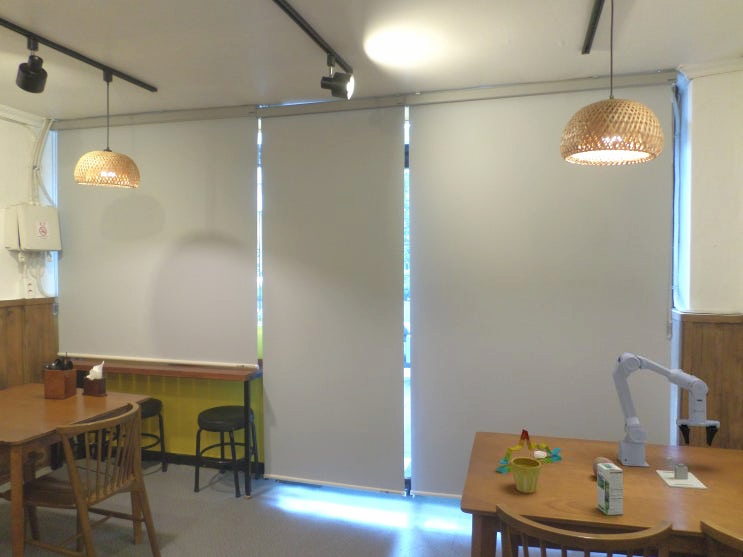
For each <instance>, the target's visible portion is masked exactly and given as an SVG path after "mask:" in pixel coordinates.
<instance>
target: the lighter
mask: <svg viewBox="0 0 743 557" xmlns="http://www.w3.org/2000/svg"><path fill="white" fill-rule="evenodd" d="M665 459H666V461H667V464H668V465H669V467H670V468H671V469H672V470H673V471H674V478H676V479H688V472H689V470H688V469H689V468H688V466H686V465H685V464H684V463H677V465H676V463H675V462H674V460H673V458H672V457H671V456H670V455H668V456H666V457H665Z"/></svg>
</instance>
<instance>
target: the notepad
mask: <svg viewBox="0 0 743 557" xmlns="http://www.w3.org/2000/svg"><path fill="white" fill-rule="evenodd" d="M655 473H657V475H658V476H659V477H660V478H661V479H662V481H663V482H664V483H665V484H666V485H667V486H668V487H669V488H681V489H683V488H684V489H685V488H686V489H695V490H697V489H698V490H708V487H707V486H705V484H703V483H702V482H701V481H700V480H699V479H698V478H697V477H696V475H695V474H693V472H690V471H688V479H676V478H674V470H660V469H659V470H658V469H657V470H655Z"/></svg>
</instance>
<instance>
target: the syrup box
mask: <svg viewBox="0 0 743 557" xmlns="http://www.w3.org/2000/svg"><path fill="white" fill-rule="evenodd" d="M596 477H597V480H596V482H597V484H596V486H597V489H596V490H597V491H596V492H597V508H598V509H599V510H600V511H602V513H604V514H605V515H606V516H617V515H624V498H623V497H624V488H623V487H624V481H623V480H624V475H623V469H622V468H620V467H619V466H617V465H616V464H615V463H614V464H612V463H601V464H597V476H596Z"/></svg>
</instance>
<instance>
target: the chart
mask: <svg viewBox="0 0 743 557" xmlns="http://www.w3.org/2000/svg"><path fill="white" fill-rule="evenodd" d="M525 442H526V446H527V450H530V451H531V452H533V451H534V450H535V449H536V448H537V449H538V450H540V451H542V452H543V451H544V449H545V450H546V452H547V453H548V454H550V455H547V456H546V457H545V456H544V457H545V458H540V457H537V458H534V459H535V460H537V461H539V462H540V463H541V466H543V465H546V464H547V465H548V464H550V463H556V462H559V461H562V459H563V458H562V455H559V453H560V452H561V451H562V449H561V448H559V447H555V449H553V450H552V451H551V450H550V447H549V445H548V444H546V443H543V442H542V443H540V445H539V443H537V442H534V441H532V442H531V438H530V436H529V432H528V430H526V429H524V428H523V429H522V431H521V434H520V437H519V441H518V444H516V445H515V446H514V447H507V450H506V453H505V455H504V458H503V460H497V462H498V463H499V464H502V465H499V466H497V472H499V473H501V474H507V473H512V471H511V463H510V464H509V461H510V458H511V457H512V454H513V451H514V452H516V451H518V452H519V451H520V450H521V449H522V448H523V447H524V444H525ZM523 449H524V448H523Z"/></svg>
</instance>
